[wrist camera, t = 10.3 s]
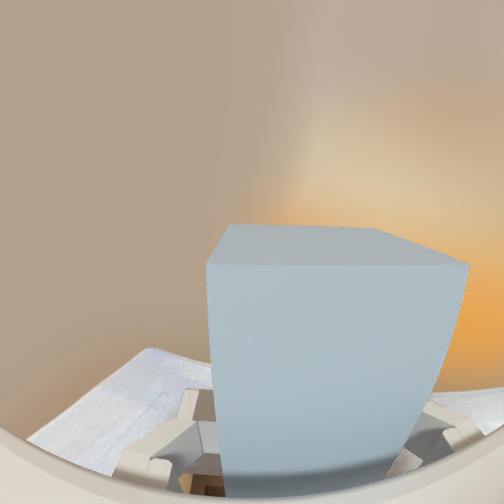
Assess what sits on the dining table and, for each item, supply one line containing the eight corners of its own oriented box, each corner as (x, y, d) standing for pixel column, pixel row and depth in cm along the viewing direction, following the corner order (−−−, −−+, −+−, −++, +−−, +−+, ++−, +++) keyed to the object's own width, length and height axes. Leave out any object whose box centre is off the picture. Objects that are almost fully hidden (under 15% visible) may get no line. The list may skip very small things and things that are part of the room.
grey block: (320, 468, 12) (373, 228, 9) (335, 533, 7) (470, 264, 4) (236, 472, 12) (229, 224, 9) (233, 541, 7) (205, 264, 4)
